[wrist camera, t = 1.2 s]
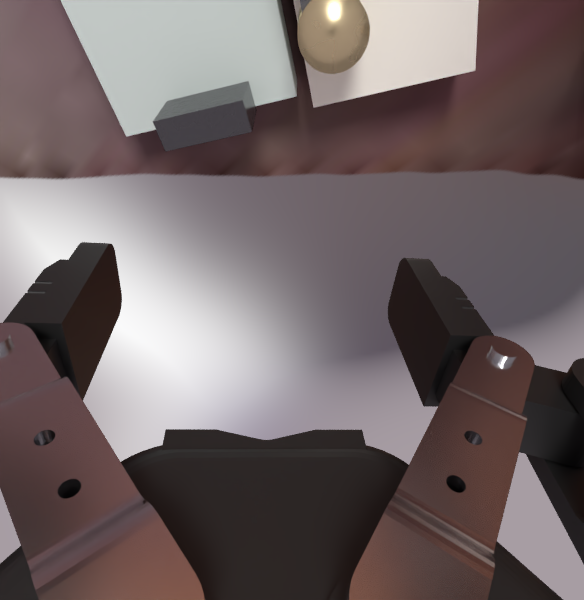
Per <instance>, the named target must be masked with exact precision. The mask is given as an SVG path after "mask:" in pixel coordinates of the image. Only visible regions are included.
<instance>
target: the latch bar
mask: <svg viewBox="0 0 584 600" xmlns="http://www.w3.org/2000/svg"><path fill="white" fill-rule="evenodd" d="M300 4H301V6H300V9H299V14H298V32H297V35H298V45H299V49H300V51H301V54H302V56H303V57H304V59H305V60H306V62H307V63H308V64H309V65H310V66H311V67H312V68H314V69H315V70H317V71H319V72H322V73H326V74H337V73H341V72H344V71H346V70H348V69H350V68H351V67H353V66H354V65H355V64H356V63H357V62H358V61H359V60H360V58H361V57H362V56H363V54H364V52H365V50H366V48H367V45H368V42H369V36H370V24H369V19H368V15H367V13H366V10H365V9H364V7H363V5H362V4H361V2H360V0H300Z"/></svg>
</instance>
